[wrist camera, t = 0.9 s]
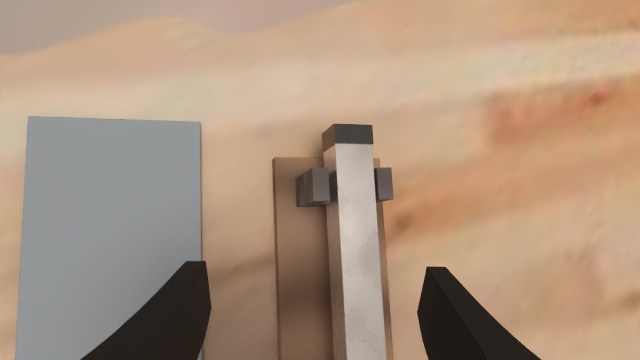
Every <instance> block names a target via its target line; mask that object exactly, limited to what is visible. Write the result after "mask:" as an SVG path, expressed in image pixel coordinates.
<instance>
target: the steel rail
mask: <svg viewBox="0 0 640 360" xmlns="http://www.w3.org/2000/svg"><path fill="white" fill-rule="evenodd" d="M322 144H323V152H324V168H328V175H329V194H330V201H327V202H326V209H327V229H328V249H329V269H330V289H331V309H332V328H333V348H334V360H386V345H385V330H384V315H383V301H382V286H381V271H380V256H379V241H378V227H377V212H376V197H375V182H374V167H373V152H372V144H373V131H372V125H357V124H333V125H332V126H331V127H330V128H328V129H327V130H326V131H325V132H324V133H323V134H322Z"/></svg>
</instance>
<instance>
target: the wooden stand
mask: <svg viewBox="0 0 640 360" xmlns="http://www.w3.org/2000/svg"><path fill="white" fill-rule="evenodd" d="M272 161H273V192H274V223H275V254H276V285H277V315H278V346H279V360H334V348H333V328H332V309H331V289H330V269H329V249H328V229H327V209H326V202H327V201H330V194H329V175H328V168H324V158H274V159H273V160H272ZM373 167H374V182H375V197H376V212H377V227H378V241H379V256H380V271H381V286H382V301H383V315H384V330H385V345H386V360H393V346H392V332H391V318H390V303H389V289H388V275H387V260H386V246H385V232H384V217H383V203H382V201H387V200H392V199H393V186H392V173H391V168H380V160H379V158H373Z"/></svg>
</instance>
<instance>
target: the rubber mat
mask: <svg viewBox="0 0 640 360" xmlns="http://www.w3.org/2000/svg"><path fill="white" fill-rule="evenodd" d="M186 261H201V190H200V122H185V121H155V120H126V119H96V118H66V117H36V116H28V127H27V146H26V164H25V183H24V202H23V220H22V239H21V257H20V276H19V295H18V313H17V332H16V351H15V360H80V359H81V358H83V357H84V356H86V355H87V354H88V353H89V352H91V351H92V350H93V349H94V348H96V347H97V346H98V345H100V344H101V343H102V342H103V341H104V340H106V339H107V338H108V337H109V336H110V335H112V334H113V333H114V332H115V331H116V330H117V329H119V328H120V327H121V326H122V325H123V324H124V323H125V322H126V321H127V320H128V319H129V318H131V317H132V316H133V315H134V314H135V313H136V312H137V311H138V310H139V309H140V308H141V307H142V306H143V305H144V304H145V303H146V302H147V301H148V300H149V299H150V298H151V297H152V296H153V295H154V294H155V293H156V292H157V291H158V290H159V289H160V288H161V287H162V286H163V285H164V284H165V283H166V282H167V281H168V280H169V279H170V278H171V276H172V275H173V274H174V273H175V272H176V271H177V270H178V269H179V268H180V267H181V266H182V265H183V264H184V263H185V262H186ZM197 360H202V348H201V350H200V353H199V356H198V359H197Z"/></svg>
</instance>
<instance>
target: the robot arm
mask: <svg viewBox="0 0 640 360" xmlns="http://www.w3.org/2000/svg"><path fill="white" fill-rule="evenodd" d="M210 312H211V301H210V293H209V285H208V276H207V268H206V261H186V262H185V263H184V264H183V265H182V266H181V267H180V268H179V269H178V270H177V271H176V272H175V273H174V274H173V275H172V276H171V278H170V279H169V280H168V281H167V282H166V283H165V284H164V285H163V286H162V287H161V288H160V289H159V290H158V291H157V292H156V293H155V294H154V295H153V296H152V297H151V298H150V299H149V300H148V301H147V302H146V303H145V304H144V305H143V306H142V307H141V308H140V309H139V310H138V311H137V312H136V313H135V314H134V315H133V316H132V317H131V318H129V319H128V320H127V321H126V322H125V323H124V324H123V325H122V326H121V327H120V328H119V329H117V330H116V331H115V332H114V333H113V334H112V335H110V336H109V337H108V338H107V339H106V340H104V341H103V342H102V343H101V344H100V345H98V346H97V347H96V348H94V349H93V350H92V351H91V352H89V353H88V354H87V355H86V356H84V357H83V358H81V359H80V360H197V359H198V356H199V353H200V350H201V348H202V345H203V342H204V339H205V335H206V330H207V326H208V321H209V317H210ZM417 314H418V319H419V324H420V330H421V334H422V339H423V343H424V347H425V350H426V353H427V356H428V359H429V360H541V359H540V358H538V357H537V356H536V355H535V354H534V353H532V352H531V351H530V350H529V349H527V348H526V347H525V346H524V345H523V344H522V343H520V342H519V341H518V340H517V339H516V338H515V337H514V336H513V335H511V334H510V333H509V332H508V331H507V330H506V329H505V328H504V327H503V326H502V325H501V324H500V323H499V322H497V321H496V320H495V319H494V318H493V317H492V316H491V315H490V314H489V313H488V312H487V311H486V310H485V309H484V308H483V307H482V306H481V305H480V304H479V303H478V301H477V300H476V299H475V298H474V297H473V296H472V295H471V294H470V293H469V292H468V291H467V290H466V289H465V288H464V287H463V285H462V284H461V283H460V282H459V281H458V280H457V279H456V278H455V277H454V276H453V275H452V273H451V272H450V271H449V270H448V269H447V268H446V267H427V269H426V274H425V278H424V283H423V288H422V292H421V297H420V302H419V306H418V311H417Z"/></svg>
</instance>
